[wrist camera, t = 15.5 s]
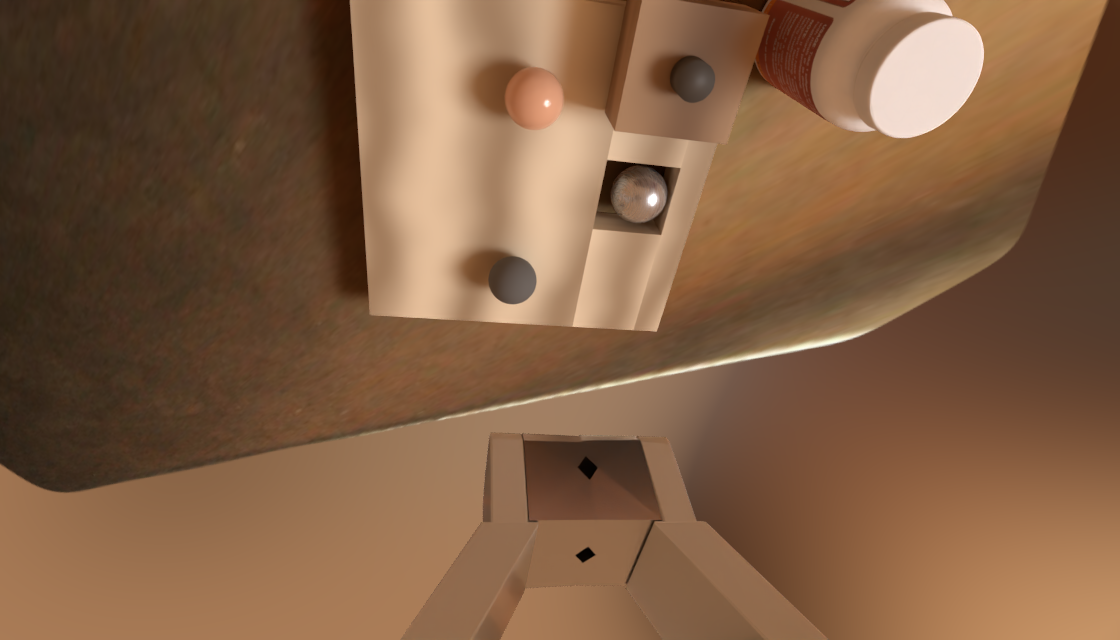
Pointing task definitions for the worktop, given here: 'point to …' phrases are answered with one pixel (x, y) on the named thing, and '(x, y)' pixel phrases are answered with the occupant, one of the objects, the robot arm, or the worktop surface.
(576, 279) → the board
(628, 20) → the cover
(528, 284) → the black rubber ball
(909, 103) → the pill bottle
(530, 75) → the terracotta ball
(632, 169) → the steel ball
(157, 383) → the worktop surface
